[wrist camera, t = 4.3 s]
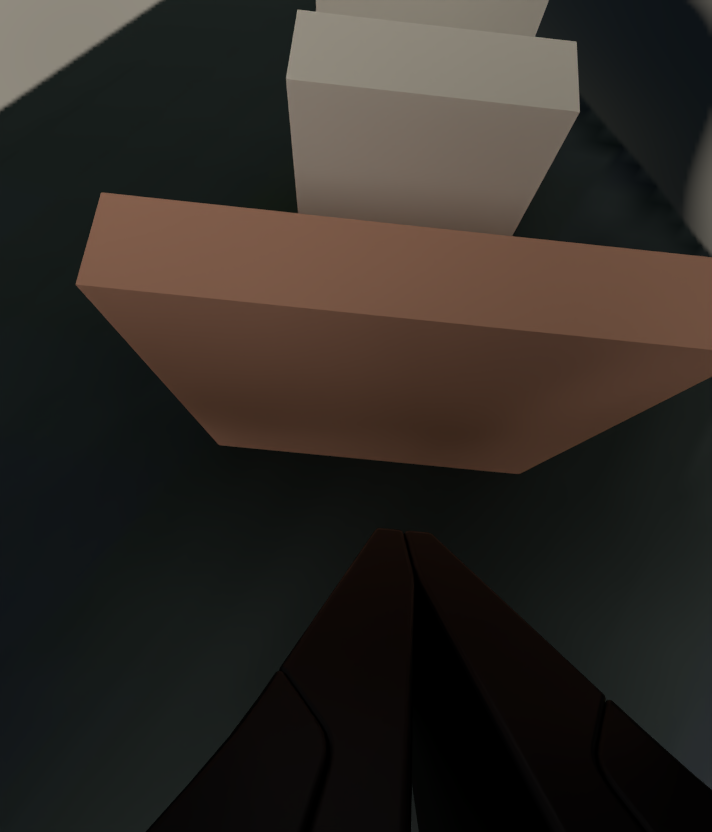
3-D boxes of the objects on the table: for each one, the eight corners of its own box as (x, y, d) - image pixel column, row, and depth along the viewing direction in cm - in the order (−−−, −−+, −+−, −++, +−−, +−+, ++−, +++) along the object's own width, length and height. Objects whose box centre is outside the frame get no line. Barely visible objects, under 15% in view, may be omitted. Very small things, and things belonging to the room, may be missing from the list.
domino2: (449, 350, 18) (579, 112, 9) (309, 336, 18) (285, 78, 9) (450, 310, 19) (576, 41, 9) (314, 296, 19) (297, 9, 9)
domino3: (453, 249, 20) (571, -59, 10) (321, 235, 19) (313, -89, 10) (454, 213, 20) (568, -113, 10) (326, 200, 20) (322, -143, 10)
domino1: (518, 474, 17) (755, 354, 8) (219, 445, 17) (75, 284, 7) (518, 428, 18) (741, 260, 8) (226, 399, 17) (101, 192, 8)
